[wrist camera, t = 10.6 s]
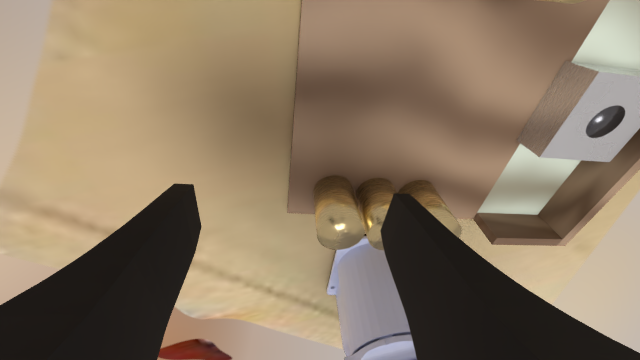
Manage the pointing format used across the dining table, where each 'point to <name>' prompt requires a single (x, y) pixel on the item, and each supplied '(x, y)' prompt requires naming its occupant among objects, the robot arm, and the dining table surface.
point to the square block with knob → (585, 113)
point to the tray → (456, 105)
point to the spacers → (371, 206)
